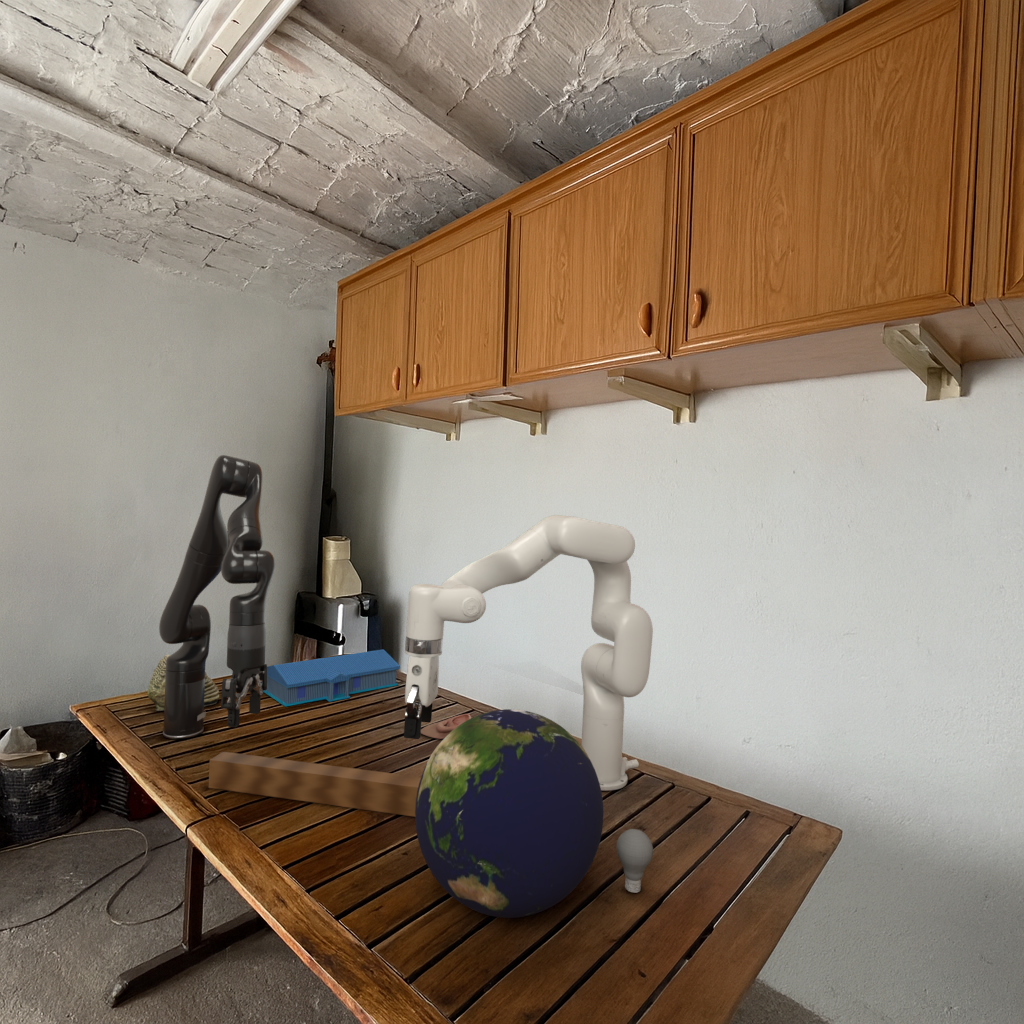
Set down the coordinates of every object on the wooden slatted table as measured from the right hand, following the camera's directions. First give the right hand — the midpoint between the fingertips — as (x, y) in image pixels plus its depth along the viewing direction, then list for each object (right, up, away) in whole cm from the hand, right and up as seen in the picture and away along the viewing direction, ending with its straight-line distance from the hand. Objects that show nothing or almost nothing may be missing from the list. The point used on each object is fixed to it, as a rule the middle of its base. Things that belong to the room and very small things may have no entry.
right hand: (417, 729), depth 129 cm
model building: (-40, -14, +79) cm, 90 cm away
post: (-19, -16, +4) cm, 25 cm away
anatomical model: (+1, -16, +45) cm, 48 cm away
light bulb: (+39, -19, -23) cm, 49 cm away
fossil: (-77, -13, +56) cm, 96 cm away
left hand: (-38, 0, +6) cm, 38 cm away
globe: (+18, -18, -27) cm, 37 cm away
